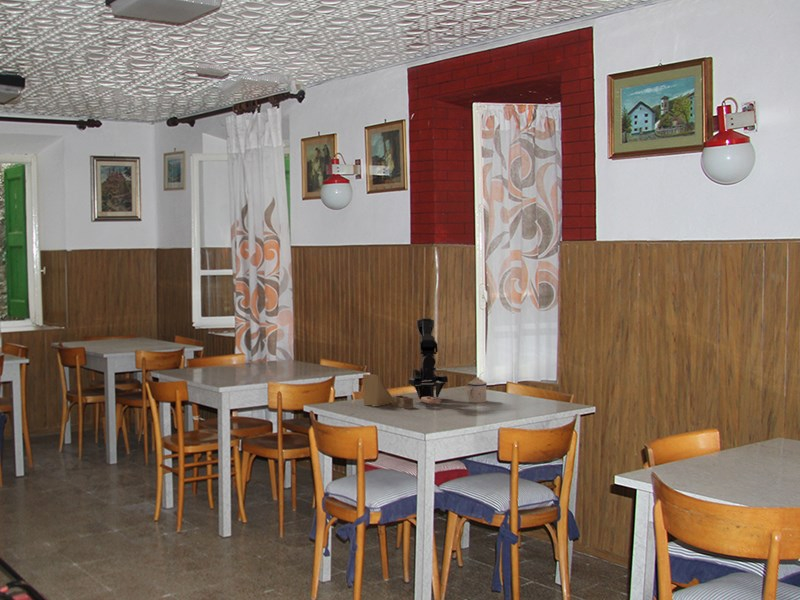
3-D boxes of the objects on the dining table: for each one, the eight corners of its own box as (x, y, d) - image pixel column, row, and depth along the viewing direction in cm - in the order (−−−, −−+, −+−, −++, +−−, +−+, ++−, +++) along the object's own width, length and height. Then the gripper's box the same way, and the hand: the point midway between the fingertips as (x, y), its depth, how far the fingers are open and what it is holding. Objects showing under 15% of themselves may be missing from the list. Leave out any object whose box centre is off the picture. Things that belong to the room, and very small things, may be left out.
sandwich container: (396, 402, 437) (396, 371, 436) (377, 407, 425) (377, 375, 424) (382, 400, 442) (382, 370, 441) (363, 405, 429) (362, 373, 429)
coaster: (431, 401, 436) (431, 400, 436) (441, 404, 429) (441, 403, 428) (415, 403, 432) (415, 402, 432) (425, 406, 424) (425, 405, 424)
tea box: (392, 405, 426) (392, 396, 426) (402, 404, 429) (402, 395, 429) (403, 408, 418) (403, 399, 418) (413, 407, 420) (413, 398, 420)
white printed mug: (475, 399, 442) (475, 375, 442) (490, 401, 436) (490, 377, 436) (460, 402, 434) (460, 378, 433) (475, 404, 427) (475, 379, 427)
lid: (417, 401, 433) (417, 396, 433) (429, 400, 436) (428, 394, 436) (428, 405, 424) (428, 399, 424) (440, 403, 427) (440, 398, 427)
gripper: (436, 362, 441) (436, 394, 442) (402, 365, 432) (403, 397, 432) (448, 364, 431) (448, 397, 432) (414, 367, 422) (414, 401, 423)
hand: (428, 398), depth 430 cm, fingers open, 9 cm apart
